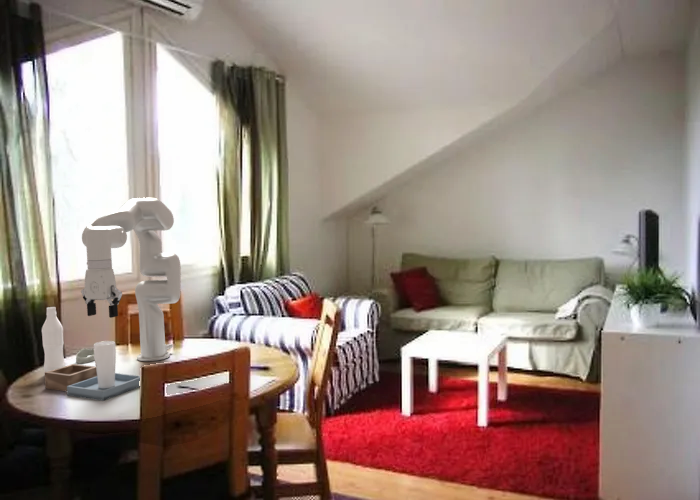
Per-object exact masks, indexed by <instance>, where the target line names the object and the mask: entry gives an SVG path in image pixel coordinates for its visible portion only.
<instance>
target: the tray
mask: <svg viewBox="0 0 700 500" xmlns="http://www.w3.org/2000/svg"><path fill="white" fill-rule="evenodd" d="M140 376H141V375H136V374H135V375H134V374H127V373H120V372H119V373H118V372H115V386H114V387H111V388H107V389H101V388H99V387H98V379H97V376H96V377H93V378H90V379H87V380H84V381H81V382H78V383H75V384H72V385H69V386H67V391H66V392H67V396H68V397H69V396H70V397H77V398H83V399H89V400H90V399H91V400H97V401H106V400H110V399H111V398H114V397H117V396H119V395H122V394H124V393H127V392H129V391H132V390H134V389H137V388H140V387H139V381H140Z"/></svg>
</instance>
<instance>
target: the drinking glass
mask: <svg viewBox="0 0 700 500" xmlns="http://www.w3.org/2000/svg"><path fill="white" fill-rule="evenodd" d="M93 349H94V358H95V360H94V363H95V367H96V372H97V379H98V387H99V388H101V389H107V388H111V387H114V386H115V373H116V362H117V361H116V359H117V357H116V356H117V354H116V353H117V351H116V350H117V349H116V342H115V341H114V340H103V341H98V342H95V343H94V344H93Z"/></svg>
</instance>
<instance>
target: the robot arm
mask: <svg viewBox="0 0 700 500" xmlns="http://www.w3.org/2000/svg"><path fill="white" fill-rule="evenodd" d="M174 219H175V218H174V214H173V213H172V211H171V210H170V209H169V208H168V207H167V205H166V204H165V203H164V202H163V201H161V200H159V199H158V198H155V197H146V198H145V197H143V198H140V197H139V198H138V197H137V198H131V199H128V200H127V201H126V202H125V203H124V204H123V205H121V206H120V207H119V209H117V210H116V211H115V212H112V213H111V212H110V213H108V214H106V215H104V216H100V217H98V218H96V219H94V220H92V221H91V222H89V224H87V225H86V226H85V227H84V229H83V230H82V234H81V241H82V244H83V245H84V247H86V261H87V262H86V266H87V268H86V269H85V273H84V274H85V275H84V288H83V289H81V291H80V293H81V295H82V298H83V300H84V303H85V305H86V311H87V312H86V313H87V316H88V317H91V316H95V315H97V304H96V302H95V301H96V300H97V301H107V303H108V304H109V305H108V316H109V318H111V319H113V318H116V317H118V316H119V312H118V310H119V309H118V308H119V307H118V305H119V304H120V301H121V300H122V296H123V292H122V291H121V290H120V289H118V288H117V282H116V277H115V271H114V269H113V263H112V260H113V259H112V249H118V248H121V247H124V245H126V243H127V240H128V235H127V233H129V232H131V231H132V230H133V231H134V233H135V235H136V237H137V239H138V242H139V272H140V274H141V276H143V277H148V278H149V277H151V278H153V277H154V278H158V277H159V278H160V277H161V278H162V277H166V279H149V280H146V279H145V280H142V281H139V282H138V283H137V284H136V286H135V288H134V293H135V299H136V304H137V308H138V309H137V310H138V323H139V341H140V343H139V344H140V345H139V346H140V354H138V355H137V356H136V360H138V361H141V362H157V361H161V360H165V359H167V358H169V357H170V352H168V350H170V349H172V348H173V347H174V345H173V344H172V343H168V344H166V337H165V335H166V334H165V318H164V317H165V316H164V312H163V310H162V309H161V307H160V305H161V304H162V305H163V304H164V305H165V304H167V305H169V304H176V303H178V302H179V300H180V298H181V289H182V288H181V277H182V276H181V275H182V274H181V273H182V272H181V269H182V268H181V260H180V258H179V256H178V255H177V254H176V253H173V252H162V251H163V250H162V245H163V244H162V243H163V242H162V239H161V237H160V236H159V234H158V233H157V231H158V232H159V231H161V232H162V231H168V230H171V228H173V225H174V222H175V220H174Z"/></svg>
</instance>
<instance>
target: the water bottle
mask: <svg viewBox="0 0 700 500" xmlns="http://www.w3.org/2000/svg"><path fill="white" fill-rule="evenodd" d="M45 315H46V318H45V321H44V323H43V325H42V327H41V336H42V347H43V352H44V363H43V370H44V373H45V372H48V371H51V370H55V369H58V368H61V367H65V366H66V362H65V358H64V344H65V343H64V327H63V324H62V323H61V321H60V320H59V318H58V317H57V310H56V306H50V307H49V306H48V307H46V314H45Z"/></svg>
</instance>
